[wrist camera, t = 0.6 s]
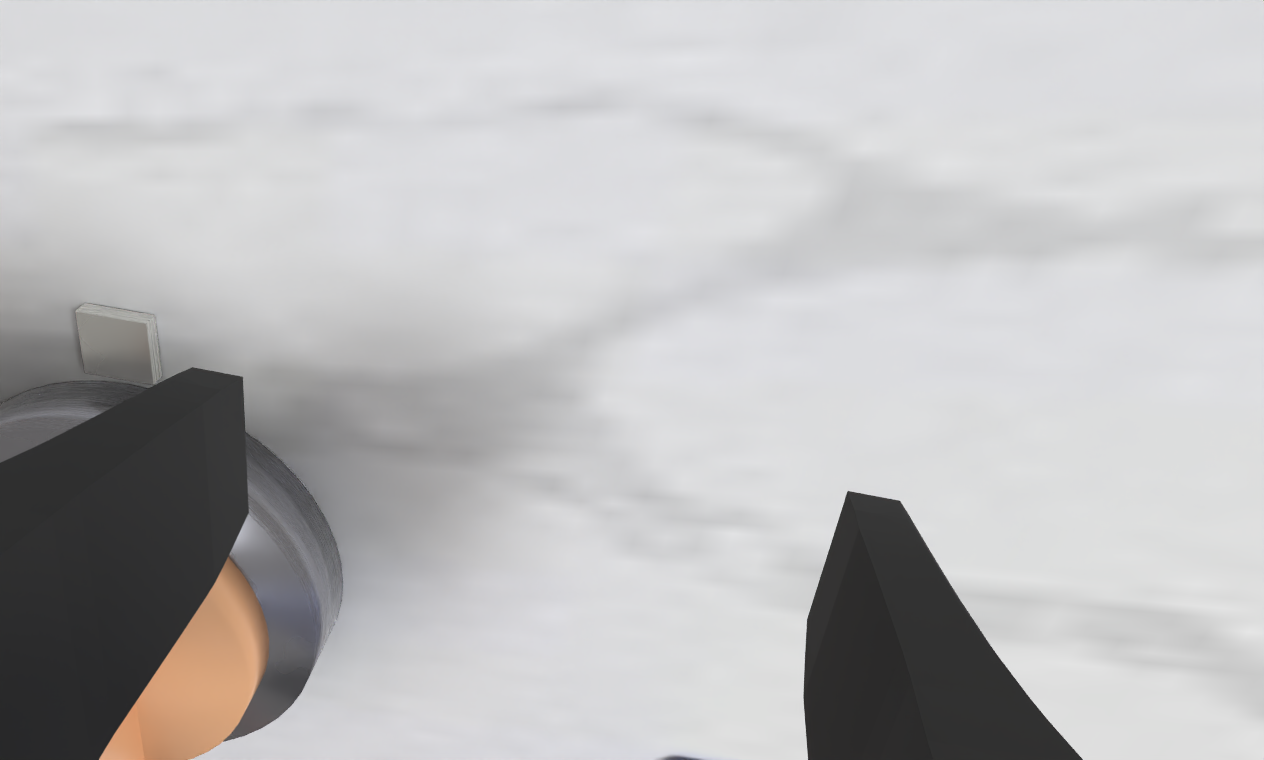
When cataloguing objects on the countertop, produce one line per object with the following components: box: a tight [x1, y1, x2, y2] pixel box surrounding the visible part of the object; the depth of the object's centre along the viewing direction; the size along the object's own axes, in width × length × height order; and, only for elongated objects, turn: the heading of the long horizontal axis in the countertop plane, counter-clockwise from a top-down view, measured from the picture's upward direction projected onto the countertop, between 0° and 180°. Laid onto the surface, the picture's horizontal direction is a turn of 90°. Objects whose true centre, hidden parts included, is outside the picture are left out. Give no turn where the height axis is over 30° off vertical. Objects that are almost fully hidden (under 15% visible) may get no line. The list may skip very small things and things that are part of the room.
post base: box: [0, 303, 343, 742], centre depth 27 cm, size 12×12×2 cm
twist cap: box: [99, 557, 269, 760], centre depth 24 cm, size 8×8×5 cm
